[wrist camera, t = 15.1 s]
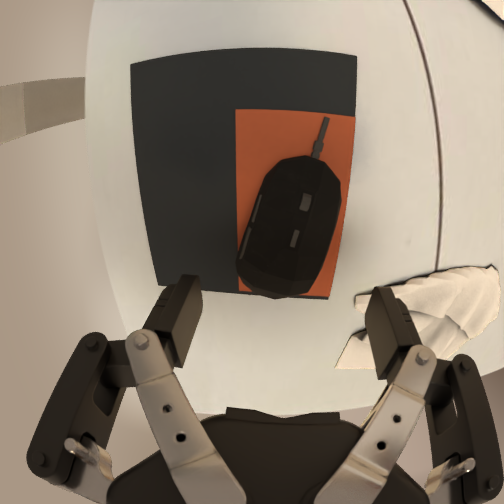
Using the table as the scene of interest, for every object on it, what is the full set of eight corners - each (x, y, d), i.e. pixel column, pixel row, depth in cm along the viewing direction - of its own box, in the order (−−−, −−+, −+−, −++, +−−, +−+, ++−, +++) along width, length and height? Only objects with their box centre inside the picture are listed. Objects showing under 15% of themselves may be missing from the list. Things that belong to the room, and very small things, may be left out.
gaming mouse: (369, 133, 16) (389, 142, 12) (300, 298, 24) (300, 331, 20) (280, 102, 16) (279, 101, 12) (230, 279, 24) (221, 310, 20)
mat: (159, 283, 26) (157, 286, 25) (132, 64, 15) (129, 64, 15) (327, 297, 24) (328, 300, 24) (355, 56, 14) (357, 55, 13)
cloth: (510, 305, 22) (518, 317, 20) (390, 394, 32) (392, 408, 30) (458, 197, 17) (473, 208, 15) (291, 343, 28) (290, 361, 26)
